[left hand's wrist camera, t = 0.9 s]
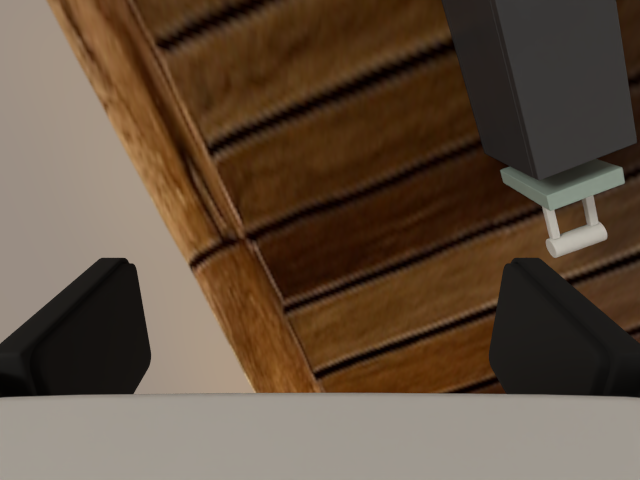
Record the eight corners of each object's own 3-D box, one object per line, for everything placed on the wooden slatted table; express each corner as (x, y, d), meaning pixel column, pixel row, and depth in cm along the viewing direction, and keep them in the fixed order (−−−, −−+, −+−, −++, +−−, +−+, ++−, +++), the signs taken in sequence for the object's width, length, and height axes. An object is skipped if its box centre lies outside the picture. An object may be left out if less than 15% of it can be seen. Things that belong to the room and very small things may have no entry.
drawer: (573, 215, 38) (636, 251, 31) (517, 236, 39) (565, 276, 31) (505, -100, 30) (569, -158, 22) (435, -66, 30) (473, -111, 23)
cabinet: (556, 124, 36) (637, 143, 27) (484, 153, 37) (538, 181, 28) (495, -163, 29) (576, -269, 20) (407, -118, 30) (446, -201, 21)
